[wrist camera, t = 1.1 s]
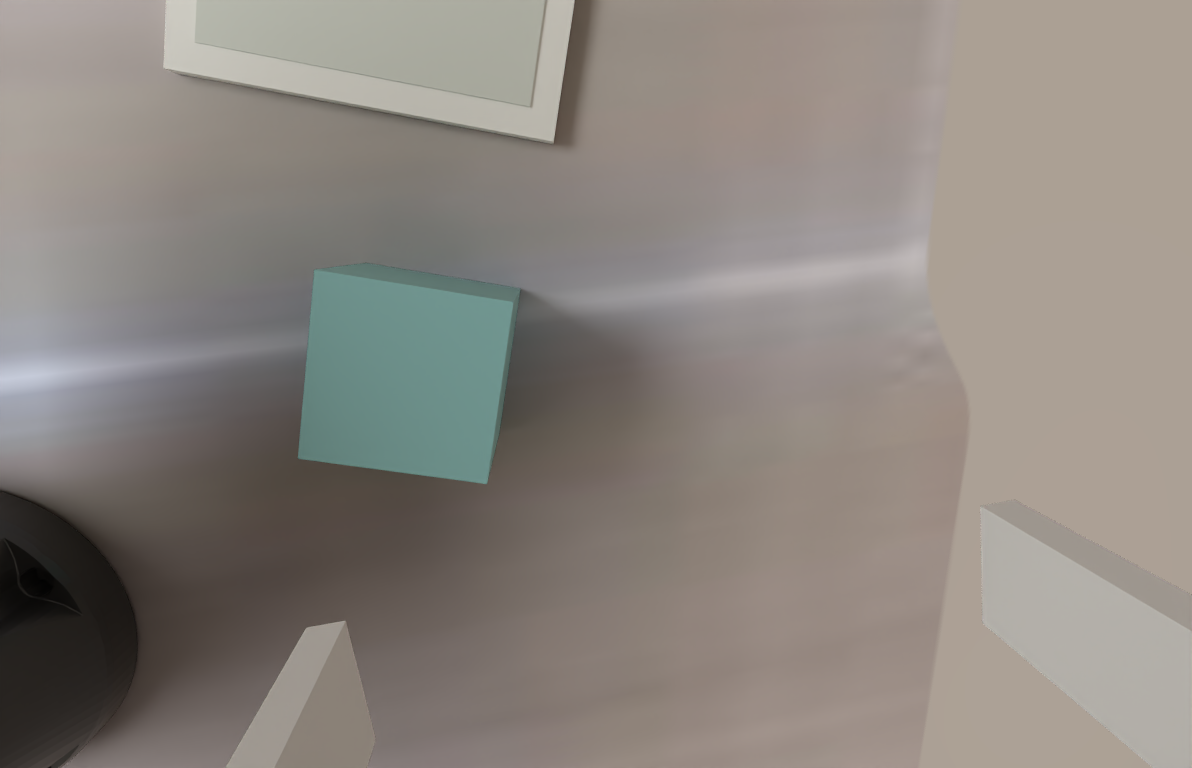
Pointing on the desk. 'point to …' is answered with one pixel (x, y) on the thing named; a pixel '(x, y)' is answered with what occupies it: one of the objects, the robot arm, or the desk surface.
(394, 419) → the cube
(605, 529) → the desk surface
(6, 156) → the desk surface
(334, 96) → the white square tray
